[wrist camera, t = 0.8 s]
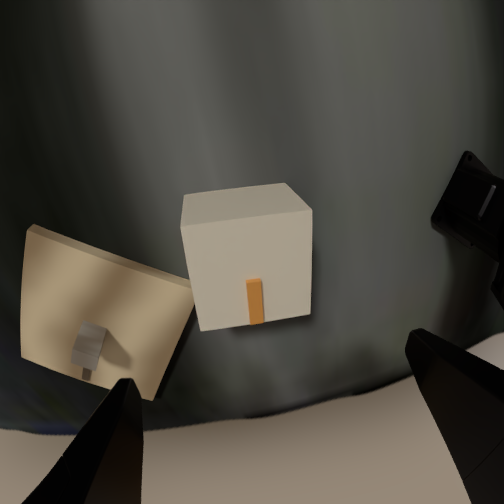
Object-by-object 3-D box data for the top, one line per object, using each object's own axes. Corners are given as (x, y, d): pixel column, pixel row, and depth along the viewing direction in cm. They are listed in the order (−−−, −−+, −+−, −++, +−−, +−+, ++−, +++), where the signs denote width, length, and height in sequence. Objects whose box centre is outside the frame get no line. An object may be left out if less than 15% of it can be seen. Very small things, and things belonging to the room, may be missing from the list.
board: (199, 283, 21) (201, 320, 18) (153, 392, 25) (151, 428, 22) (33, 224, 17) (5, 251, 14) (25, 349, 22) (9, 382, 18)
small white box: (284, 182, 19) (314, 212, 14) (287, 269, 22) (311, 317, 17) (184, 194, 19) (180, 229, 14) (198, 282, 21) (200, 334, 17)
